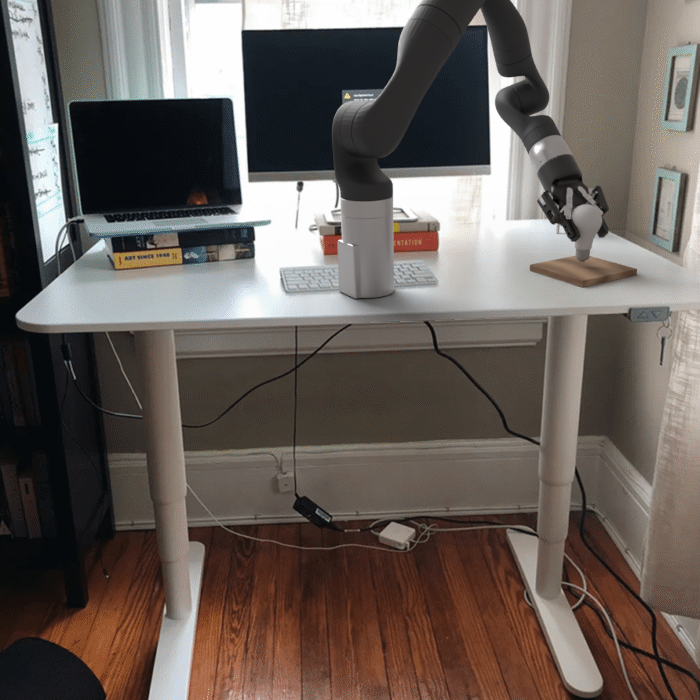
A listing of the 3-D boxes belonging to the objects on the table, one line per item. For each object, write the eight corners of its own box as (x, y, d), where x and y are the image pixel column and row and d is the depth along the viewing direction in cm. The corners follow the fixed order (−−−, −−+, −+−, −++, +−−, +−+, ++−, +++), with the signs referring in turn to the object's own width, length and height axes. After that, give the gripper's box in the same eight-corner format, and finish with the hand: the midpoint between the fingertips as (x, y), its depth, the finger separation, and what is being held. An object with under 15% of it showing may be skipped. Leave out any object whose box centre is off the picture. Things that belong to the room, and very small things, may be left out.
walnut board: (582, 287, 144) (582, 280, 144) (529, 270, 155) (529, 264, 155) (636, 275, 150) (637, 268, 150) (582, 259, 162) (582, 254, 161)
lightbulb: (575, 267, 149) (579, 209, 145) (559, 259, 154) (563, 202, 150) (604, 264, 150) (609, 206, 146) (588, 256, 156) (592, 200, 152)
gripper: (533, 155, 149) (570, 230, 143) (594, 149, 154) (632, 221, 148) (515, 180, 155) (549, 253, 149) (574, 174, 161) (609, 243, 155)
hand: (590, 237), depth 149 cm, fingers open, 6 cm apart
